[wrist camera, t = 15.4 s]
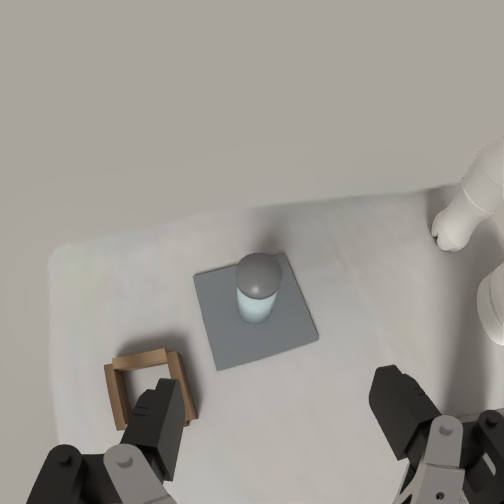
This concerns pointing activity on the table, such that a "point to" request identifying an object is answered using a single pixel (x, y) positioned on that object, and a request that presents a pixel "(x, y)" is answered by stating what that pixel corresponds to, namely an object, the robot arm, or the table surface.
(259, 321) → the grey-capped cylinder canister
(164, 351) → the walnut collar
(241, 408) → the table surface
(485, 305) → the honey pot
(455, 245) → the water bottle
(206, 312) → the slate pad
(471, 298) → the table surface
